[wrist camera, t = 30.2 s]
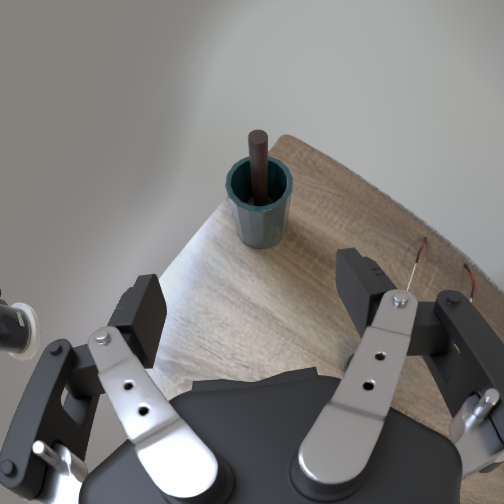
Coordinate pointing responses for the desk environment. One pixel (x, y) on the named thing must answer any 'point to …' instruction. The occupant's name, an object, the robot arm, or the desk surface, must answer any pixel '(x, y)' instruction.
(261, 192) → the brush
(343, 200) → the desk surface
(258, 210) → the pencil holder
